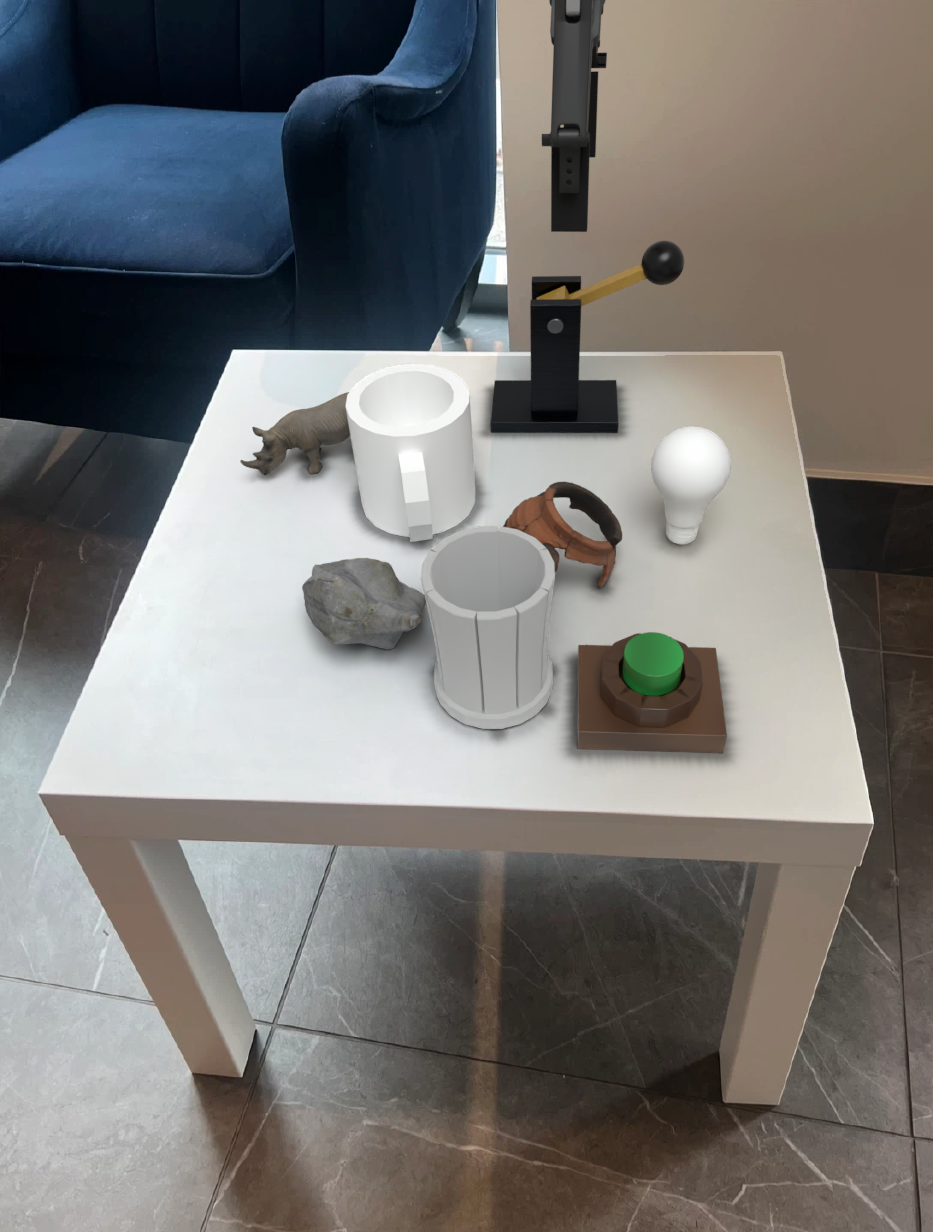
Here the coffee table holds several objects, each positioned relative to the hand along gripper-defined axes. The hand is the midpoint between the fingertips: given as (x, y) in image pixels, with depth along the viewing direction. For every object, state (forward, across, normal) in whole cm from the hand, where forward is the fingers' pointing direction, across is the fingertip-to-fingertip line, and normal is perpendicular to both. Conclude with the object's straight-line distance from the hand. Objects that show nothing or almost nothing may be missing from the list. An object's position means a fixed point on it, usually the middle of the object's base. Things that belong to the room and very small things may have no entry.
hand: (574, 190), depth 81 cm
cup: (+22, +33, -4) cm, 40 cm away
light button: (+19, +35, +8) cm, 40 cm away
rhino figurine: (+22, +8, -23) cm, 33 cm away
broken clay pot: (+22, +22, 0) cm, 31 cm away
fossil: (+22, +30, -14) cm, 39 cm away
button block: (+22, +34, +8) cm, 42 cm away
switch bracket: (+22, -1, -2) cm, 22 cm away
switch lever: (+10, -1, +4) cm, 11 cm away
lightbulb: (+22, +17, +10) cm, 30 cm away
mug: (+22, +14, -13) cm, 29 cm away
